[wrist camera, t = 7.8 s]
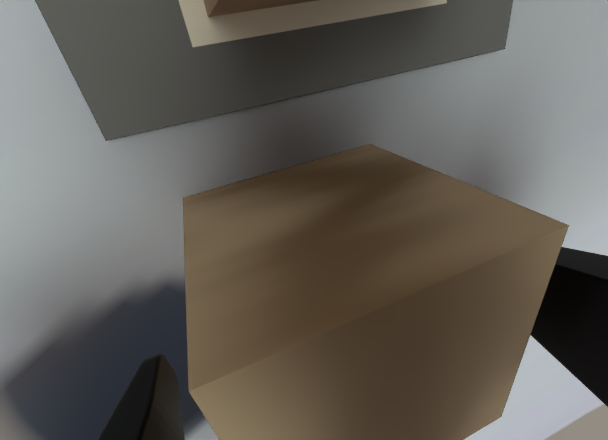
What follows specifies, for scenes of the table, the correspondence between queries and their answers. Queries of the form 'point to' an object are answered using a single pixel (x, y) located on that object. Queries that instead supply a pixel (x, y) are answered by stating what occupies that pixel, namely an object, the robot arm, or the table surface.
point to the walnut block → (244, 5)
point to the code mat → (252, 51)
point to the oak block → (359, 300)
